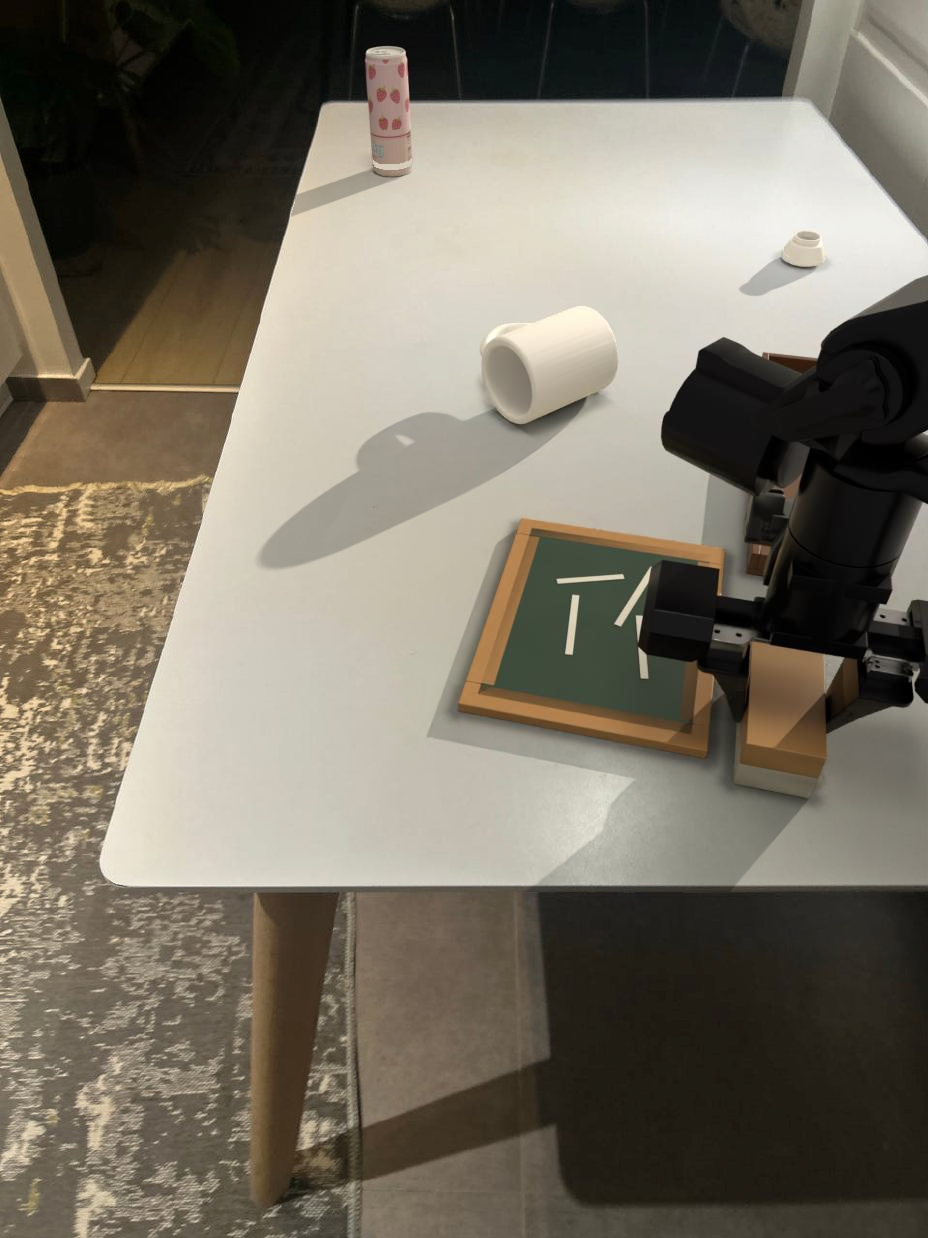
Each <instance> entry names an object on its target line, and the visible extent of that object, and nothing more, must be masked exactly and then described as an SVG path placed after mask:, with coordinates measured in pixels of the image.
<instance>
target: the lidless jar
mask: <svg viewBox="0 0 928 1238" xmlns="http://www.w3.org/2000/svg"><path fill="white" fill-rule="evenodd" d="M783 248H784V252H785V254H786V255H788V256H789V257H788V256H786V255H785V254H784V253H783ZM783 248H782V249H781V251H780V258H781V260H783V261H784V262H785V263H788V264H790V265H791V266H796V267H800V268H801V267H802V268H811V267H816V266H819V265H822V264H824V262H825V261H826V252H825V248H824V243H823V241H822V235H821V234H820V233H818V232H816V231H812V230H798V231H796V232H794V234H793V236H792V237H791V238H790V239H789V240H788V242H787V243H786V244H785V245H784V247H783ZM824 252H825V253H824ZM824 255H825V256H824Z"/></svg>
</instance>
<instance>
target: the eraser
mask: <svg viewBox="0 0 928 1238" xmlns="http://www.w3.org/2000/svg"><path fill="white" fill-rule="evenodd" d="M825 675H826V674H825V654H820V653H814V652H808V651H802V650H796V649H790V648H784V647H778V646H772V645H770V644H765V643H759V642H751V644H750V664H749V678H748V687H747V695H746V703H745V712H744V715H743V717H742V719H741V721H740V723H736V728H735V731H736V732H735V745H734V746H735V748H734V762H733V763H734V764H733V779H732V780H733V781H732V782H733V784H734V785H737V786H744V787H748V788H753V789H759V790H763V791H764V790H765V791H770V792H773V793H779V794H785V795H790V796H794V797H799V798H803V799H810V798H811V796H812V794H813V791H814V790H815V787H816V784H817V782H818V780H819V777H820V775H821V773H822V771H823V768H824V766H825V763H826V761H827V759H828V748H827V746H828V745H827V744H828V743H827V742H828V741H827V734H826V706H825V694H826V677H825Z"/></svg>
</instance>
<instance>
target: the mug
mask: <svg viewBox="0 0 928 1238" xmlns="http://www.w3.org/2000/svg"><path fill="white" fill-rule="evenodd" d="M479 354H480V356H481V375H482V381H483V384H484V388H485V390H486V392H487V393H486V394H487V395H488V397H489V400H490V402H491V403H492V404H493V406H494V407H495V409H496V410H497V412H499V414H501V416H502V417H504V418H505V419H506V420H508V421H509V422H510V423H513V424H517V425H525V424H528V423H530V422H532V421H535V420H536V419H539V418H541V417H543V416H546V415H548V414H551V413H553V412H555V411H557V410H559V409H562V408H564V407H566V406H568V405H571V404H573V403H575V402H577V401H579V400H582V399H584V398H586V397H588V396H591V395H594V394H595V393H599V392H600V391H602V390H604V389H606V388H608V386H610V385H611V384H612V382H613V381H614V379H615V377H616V376H617V372H618V368H619V350H618V344H617V341H616V338H615V335H614V332H613V330H612V329H611V327H610V325H609V323H608V322H607V320H606V319H605V318H604V317H603V316H602V315H601V313H599V312H598V311H597V310H595V309H593V308H591V307H589V306H585V305H577V306H573V307H571V308H568V309H565V310H563V311H560V312H558V313H555V314H552V315H549V316H548V317H545V318H541V319H539V320H537V321H533V322H532V323H528V322H512V323H511V322H510V323H504V324H501V325H499V326H496V327H494V328H493V329H491V330H490V331H489V332H488V333H487V334H486V335H485V336H484V337H483V339H482V341H481V342H480V345H479Z"/></svg>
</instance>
